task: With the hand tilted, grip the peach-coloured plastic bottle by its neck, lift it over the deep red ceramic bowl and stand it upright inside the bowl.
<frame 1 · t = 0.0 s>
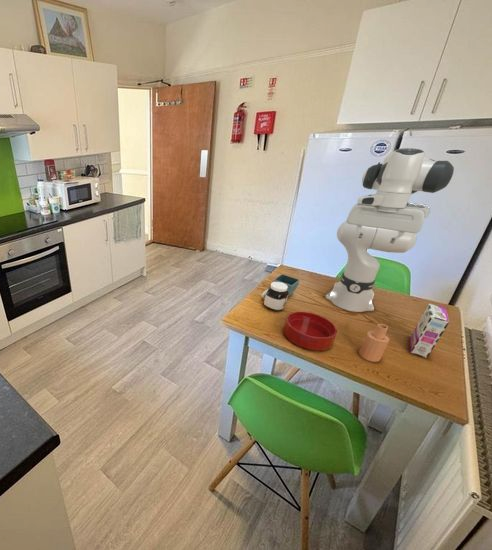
hand: (375, 240, 105), 39 cm above the table, tool pointing down, fingers open, 8 cm apart
flower pot: (282, 295, 147), on the table
bottle: (369, 355, 108), on the table
bowl: (306, 337, 118), on the table
candy bar box: (418, 348, 111), on the table
spread jar: (271, 305, 140), on the table
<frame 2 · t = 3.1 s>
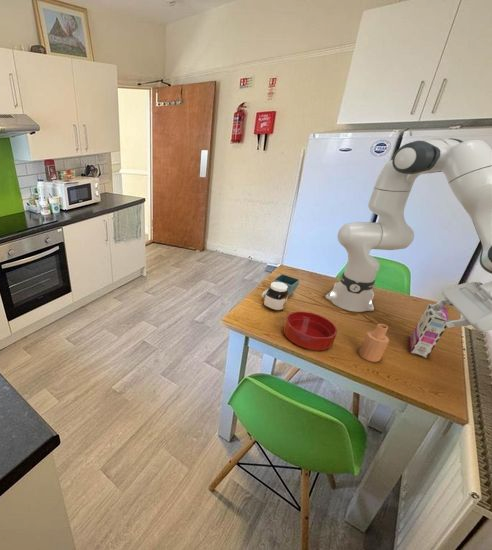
hand: (438, 316, 94), 21 cm above the table, tool tilted 45°, fingers open, 8 cm apart
nothing on the table moved.
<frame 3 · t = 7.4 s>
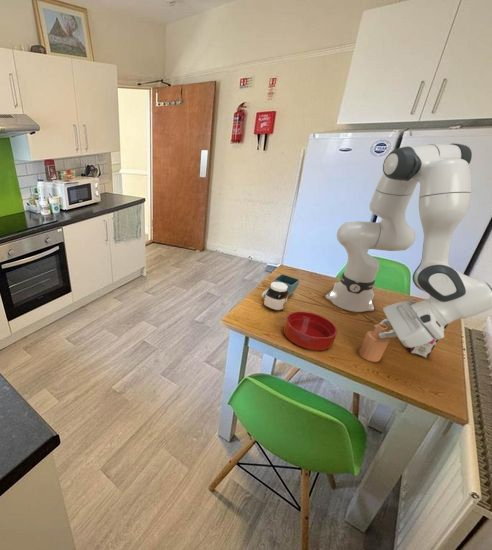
hand: (377, 332, 104), 11 cm above the table, tool tilted 45°, fingers closed on bottle, 3 cm apart
bottle: (369, 355, 108), on the table, touching gripper
everything else where it was.
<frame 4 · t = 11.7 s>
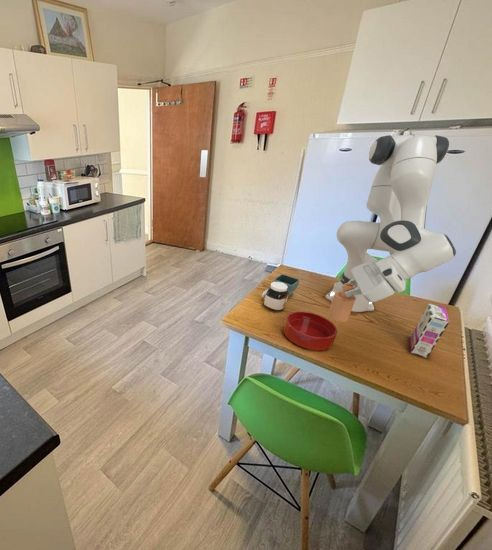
hand: (344, 291, 104), 23 cm above the table, tool tilted 45°, fingers closed on bottle, 3 cm apart
bottle: (337, 316, 109), point 13 cm above the table, touching gripper
everything else where it was.
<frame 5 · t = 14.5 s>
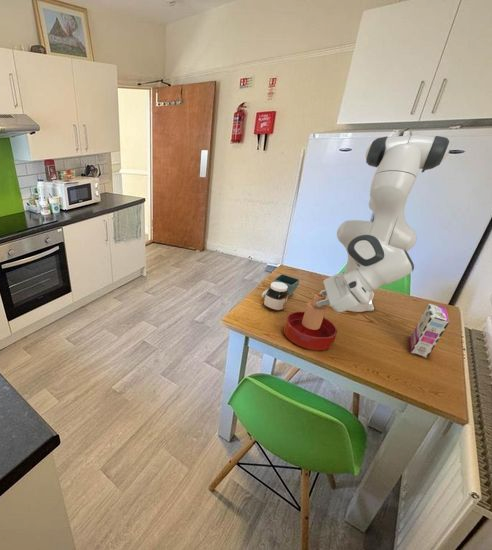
hand: (316, 301, 111), 17 cm above the table, tool tilted 45°, fingers closed on bottle, 3 cm apart
bottle: (310, 324, 115), point 6 cm above the table, touching gripper
everything else where it was.
when the fingers open (11 cm above the table, at t = 16.3 s): bottle stays where it is, resting on bowl.
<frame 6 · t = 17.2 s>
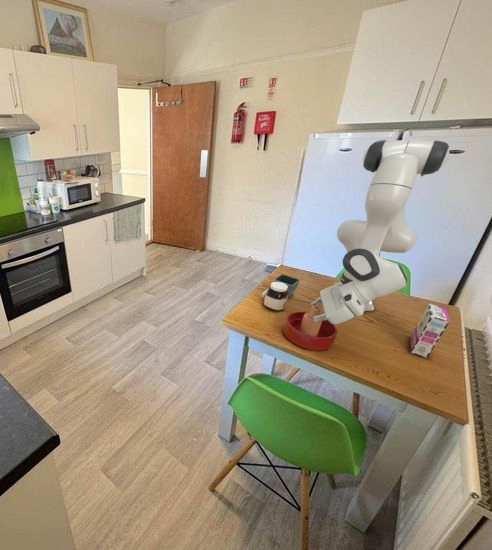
hand: (312, 312, 113), 12 cm above the table, tool tilted 45°, fingers open, 8 cm apart
bottle: (307, 335, 118), point 1 cm above the table, touching bowl
everything else where it was.
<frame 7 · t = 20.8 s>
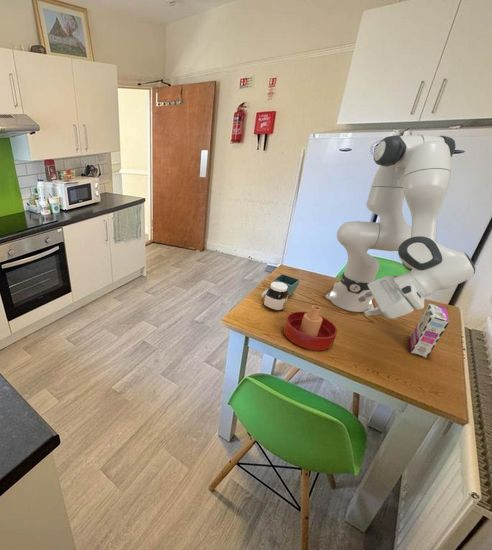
hand: (361, 306, 105), 18 cm above the table, tool tilted 45°, fingers open, 8 cm apart
nothing on the table moved.
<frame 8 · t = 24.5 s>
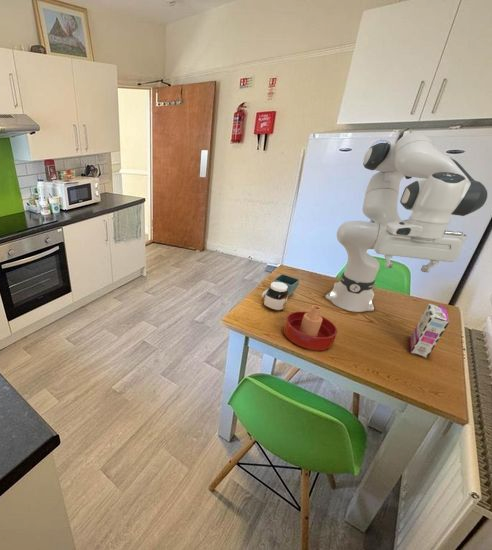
hand: (405, 269, 97), 33 cm above the table, tool pointing down, fingers open, 8 cm apart
nothing on the table moved.
at the end: bottle inside the target area in the bowl (0.1 cm from its centre), point 0.8 cm above the bowl's base; bottle tilted 0°; the gripper is holding nothing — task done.
